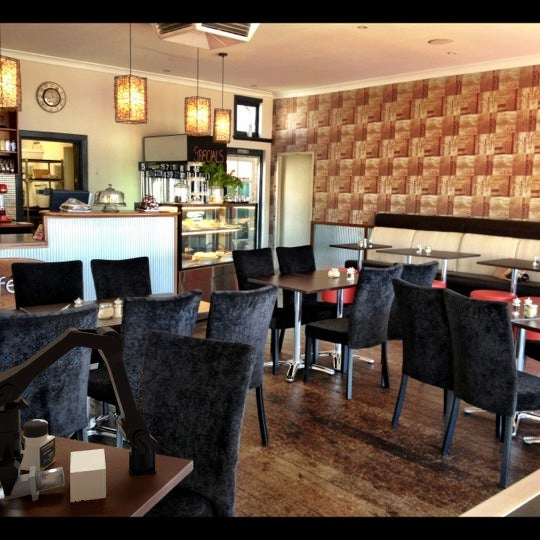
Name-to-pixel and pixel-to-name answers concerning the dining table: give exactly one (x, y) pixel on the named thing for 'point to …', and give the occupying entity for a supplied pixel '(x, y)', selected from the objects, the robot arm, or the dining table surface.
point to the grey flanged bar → (37, 482)
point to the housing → (87, 475)
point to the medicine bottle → (37, 445)
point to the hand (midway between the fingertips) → (8, 491)
